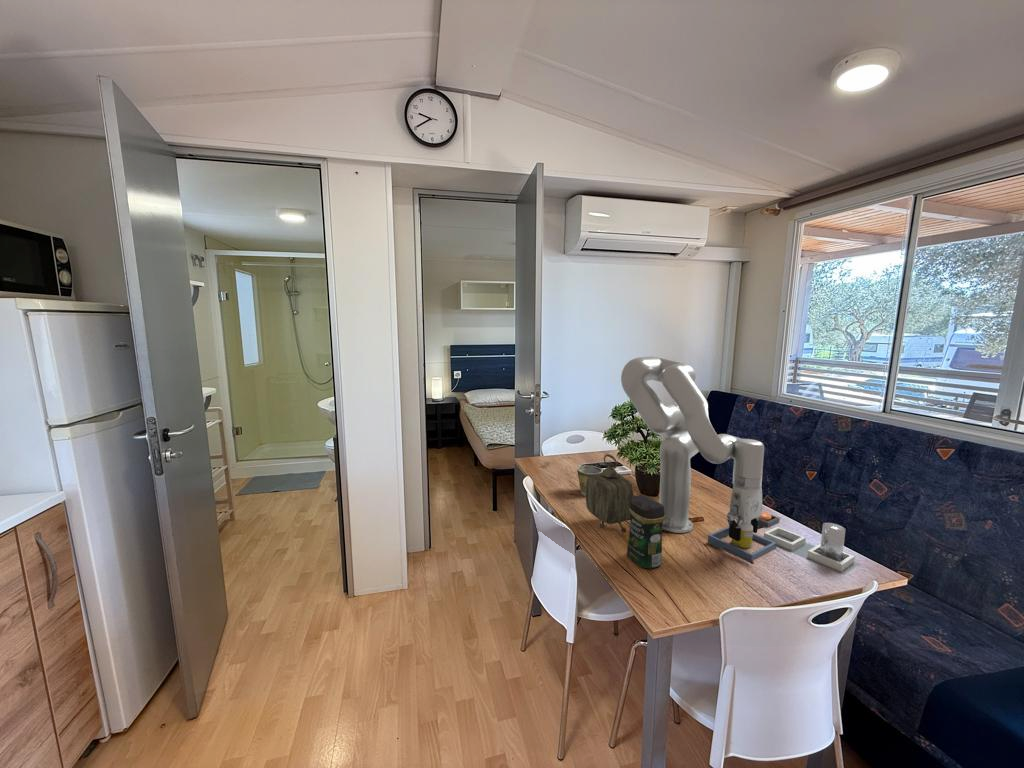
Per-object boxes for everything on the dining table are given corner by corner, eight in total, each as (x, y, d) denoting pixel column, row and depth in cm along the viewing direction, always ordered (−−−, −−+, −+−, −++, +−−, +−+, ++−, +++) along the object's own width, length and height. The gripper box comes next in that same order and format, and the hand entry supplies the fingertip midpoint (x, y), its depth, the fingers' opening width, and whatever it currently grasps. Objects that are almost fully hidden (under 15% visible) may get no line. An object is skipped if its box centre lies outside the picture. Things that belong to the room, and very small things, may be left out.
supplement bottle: (727, 542, 125) (729, 512, 123) (743, 541, 125) (746, 512, 124) (738, 551, 119) (741, 520, 118) (755, 551, 120) (758, 520, 118)
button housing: (767, 530, 133) (768, 523, 132) (745, 521, 139) (745, 514, 139) (779, 524, 136) (779, 517, 136) (756, 516, 143) (757, 509, 142)
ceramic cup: (588, 500, 156) (589, 475, 154) (571, 491, 164) (572, 468, 163) (611, 493, 162) (612, 469, 161) (594, 485, 171) (595, 462, 169)
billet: (837, 567, 110) (841, 532, 109) (816, 558, 114) (819, 525, 113) (844, 561, 112) (848, 528, 111) (823, 553, 117) (827, 521, 115)
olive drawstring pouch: (631, 534, 129) (635, 460, 126) (608, 540, 125) (611, 463, 122) (604, 515, 142) (607, 448, 139) (583, 520, 139) (585, 450, 135)
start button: (766, 523, 134) (766, 518, 134) (751, 517, 138) (751, 513, 138) (774, 519, 137) (774, 515, 136) (758, 514, 141) (759, 509, 141)
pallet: (843, 577, 107) (845, 567, 106) (758, 541, 125) (759, 532, 125) (859, 566, 112) (860, 556, 111) (774, 533, 130) (775, 524, 130)
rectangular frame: (751, 563, 113) (752, 555, 113) (707, 542, 124) (708, 534, 124) (775, 550, 120) (776, 543, 119) (732, 531, 131) (732, 524, 131)
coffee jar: (622, 554, 117) (624, 494, 115) (644, 549, 120) (647, 490, 118) (643, 572, 108) (646, 507, 106) (666, 567, 111) (670, 503, 109)
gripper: (743, 490, 112) (739, 548, 114) (775, 479, 121) (770, 533, 123) (718, 482, 118) (714, 537, 120) (750, 471, 127) (746, 523, 129)
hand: (743, 534), depth 121 cm, fingers open, 8 cm apart
